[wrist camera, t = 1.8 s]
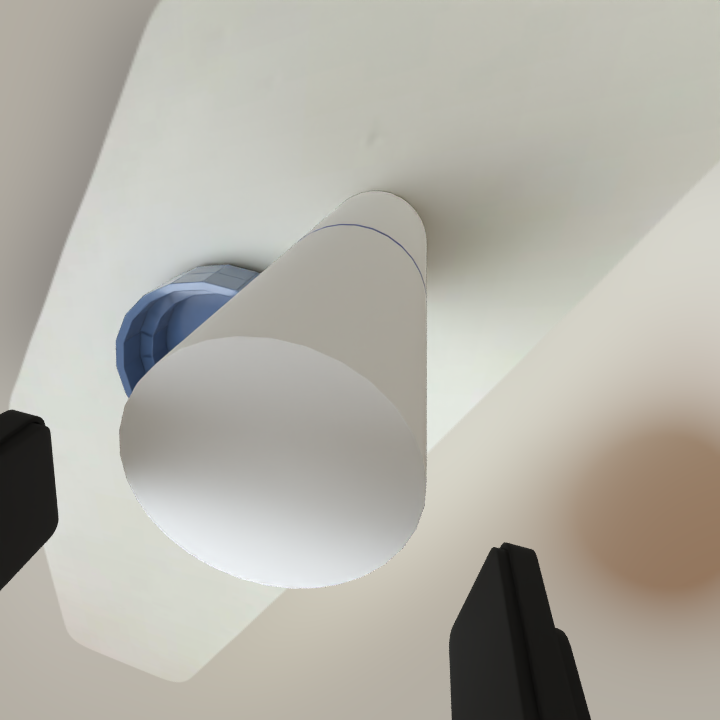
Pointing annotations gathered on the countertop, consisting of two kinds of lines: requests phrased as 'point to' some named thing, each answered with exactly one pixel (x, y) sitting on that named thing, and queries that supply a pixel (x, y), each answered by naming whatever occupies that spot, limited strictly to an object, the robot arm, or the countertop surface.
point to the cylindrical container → (297, 409)
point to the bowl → (173, 316)
